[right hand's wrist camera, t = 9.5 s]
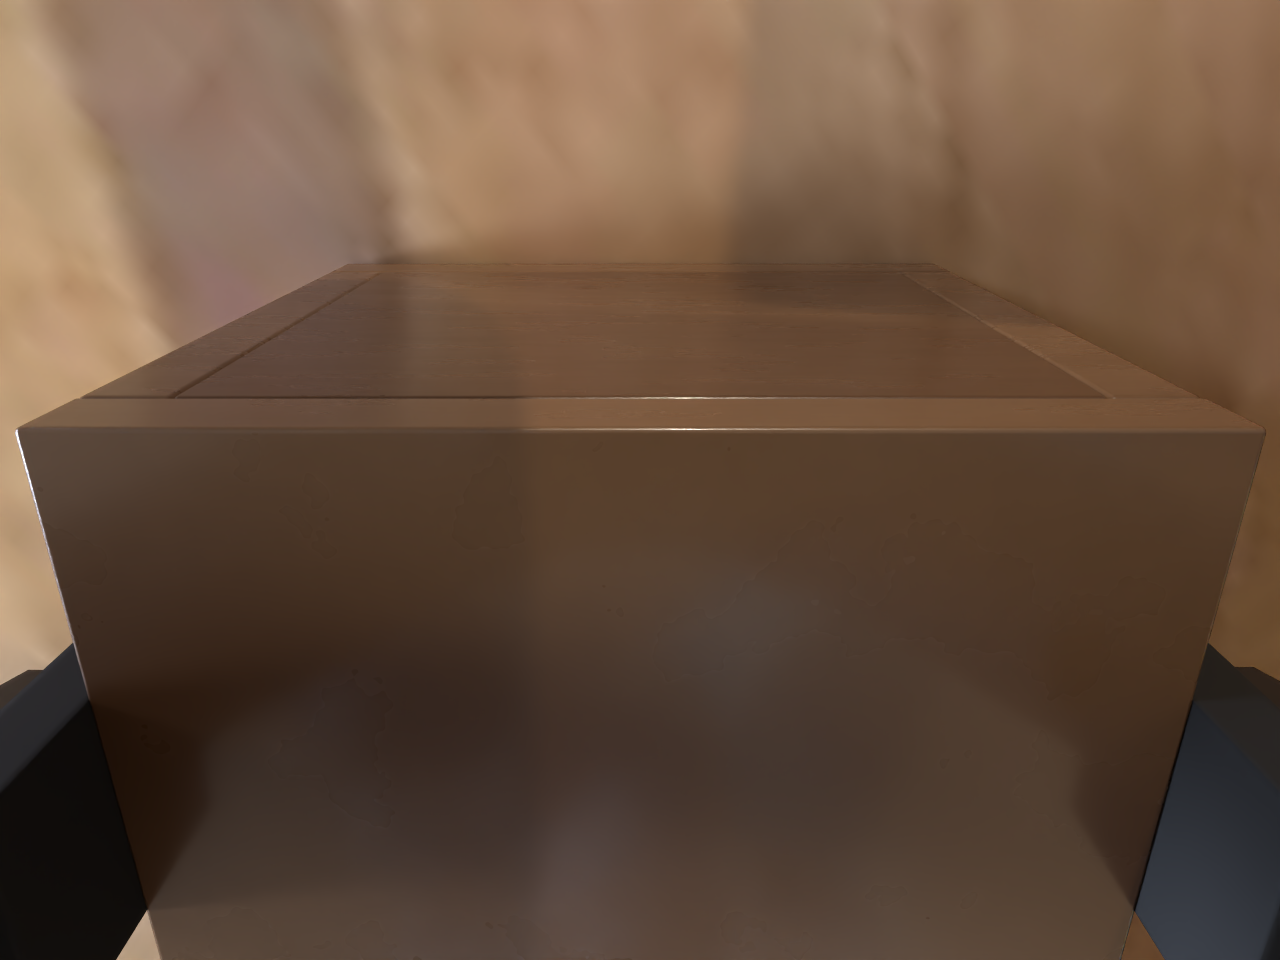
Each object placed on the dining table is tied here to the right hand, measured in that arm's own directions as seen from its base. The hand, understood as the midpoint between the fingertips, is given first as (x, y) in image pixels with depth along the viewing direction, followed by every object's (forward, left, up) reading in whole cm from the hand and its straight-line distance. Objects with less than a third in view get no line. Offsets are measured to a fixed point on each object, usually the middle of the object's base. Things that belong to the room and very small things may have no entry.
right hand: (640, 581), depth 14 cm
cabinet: (+1, -7, -4) cm, 8 cm away
